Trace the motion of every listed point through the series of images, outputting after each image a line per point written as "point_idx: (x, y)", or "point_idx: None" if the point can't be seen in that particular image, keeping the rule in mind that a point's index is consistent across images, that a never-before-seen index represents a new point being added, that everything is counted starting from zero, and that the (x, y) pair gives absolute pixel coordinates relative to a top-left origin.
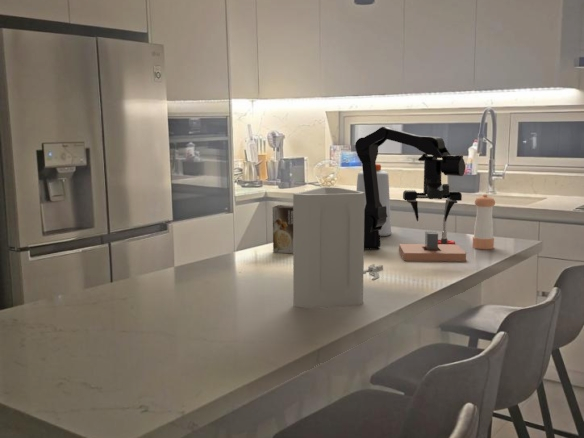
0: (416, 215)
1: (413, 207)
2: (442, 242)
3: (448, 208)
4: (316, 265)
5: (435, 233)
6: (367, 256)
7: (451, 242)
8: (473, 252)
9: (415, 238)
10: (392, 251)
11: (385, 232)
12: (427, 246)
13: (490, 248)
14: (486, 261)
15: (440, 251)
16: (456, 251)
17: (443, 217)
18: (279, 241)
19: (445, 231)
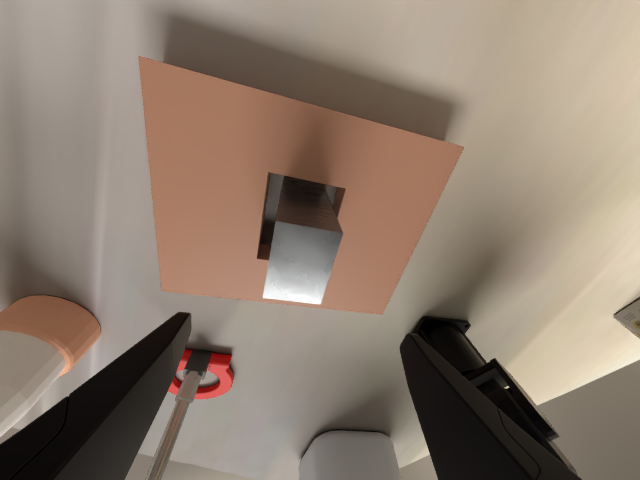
0: (451, 371)
1: (563, 465)
2: (205, 358)
3: (28, 464)
4: None
5: (286, 241)
6: (514, 235)
7: None
8: (103, 251)
9: (262, 416)
10: (396, 293)
11: (331, 440)
12: (330, 205)
13: (21, 299)
14: (33, 27)
15: (278, 152)
16: (190, 135)
17: (162, 475)
18: None
19: (179, 400)
